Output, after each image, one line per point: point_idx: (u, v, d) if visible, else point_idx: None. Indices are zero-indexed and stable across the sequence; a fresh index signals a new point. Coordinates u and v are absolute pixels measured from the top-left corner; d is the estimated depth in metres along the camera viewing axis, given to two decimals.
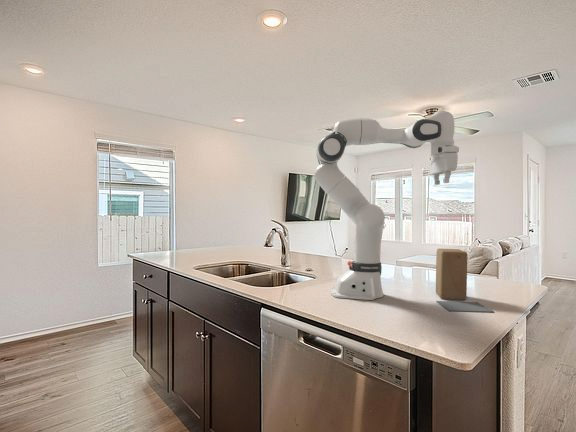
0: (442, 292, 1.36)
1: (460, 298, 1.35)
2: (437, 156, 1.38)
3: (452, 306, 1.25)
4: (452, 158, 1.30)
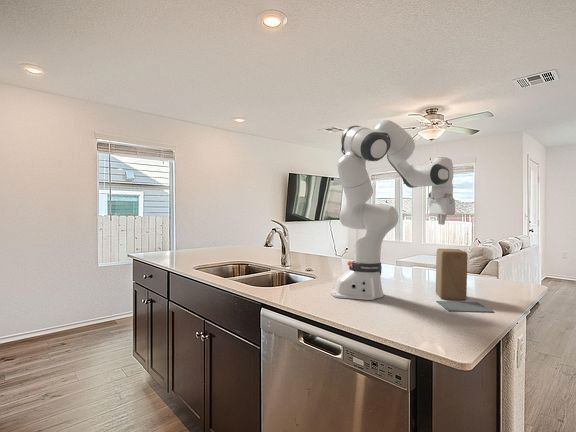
0: (442, 292, 1.36)
1: (460, 298, 1.35)
2: None
3: (452, 306, 1.25)
4: None
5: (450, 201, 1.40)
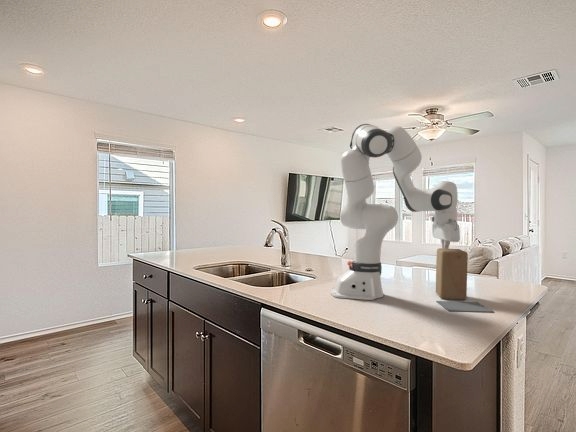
0: (442, 292, 1.36)
1: (460, 298, 1.35)
2: None
3: (452, 306, 1.25)
4: None
5: (454, 228, 1.36)
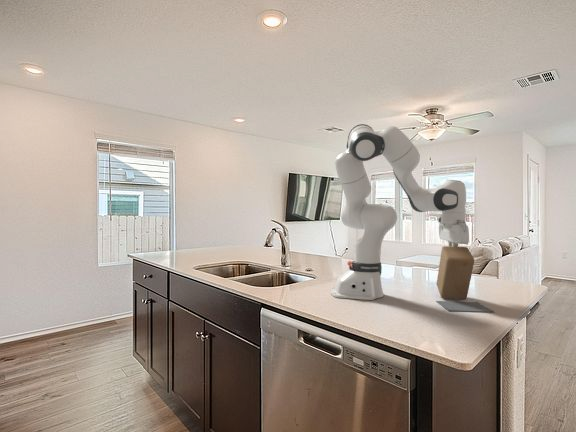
0: (443, 293, 1.35)
1: (460, 298, 1.34)
2: None
3: (452, 306, 1.25)
4: None
5: (463, 229, 1.28)
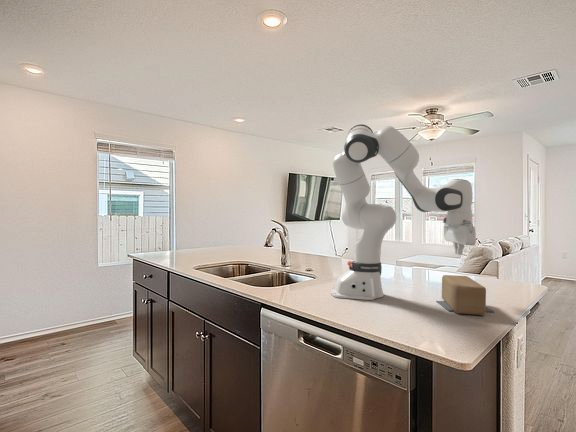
0: (444, 300, 1.33)
1: None
2: None
3: None
4: None
5: (470, 230, 1.23)
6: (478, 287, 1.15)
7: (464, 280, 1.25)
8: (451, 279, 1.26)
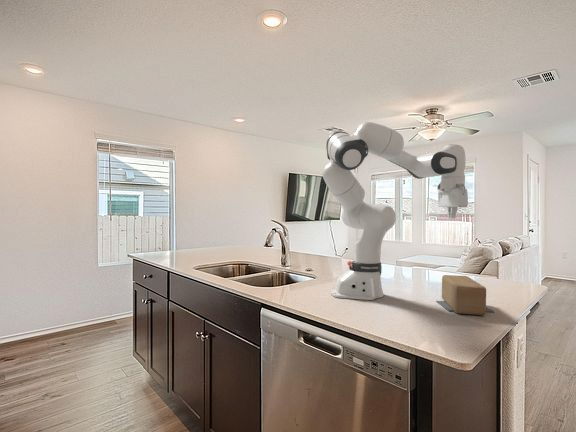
0: (444, 300, 1.33)
1: None
2: None
3: None
4: None
5: (462, 192, 1.27)
6: (478, 287, 1.15)
7: (464, 280, 1.25)
8: (451, 279, 1.26)
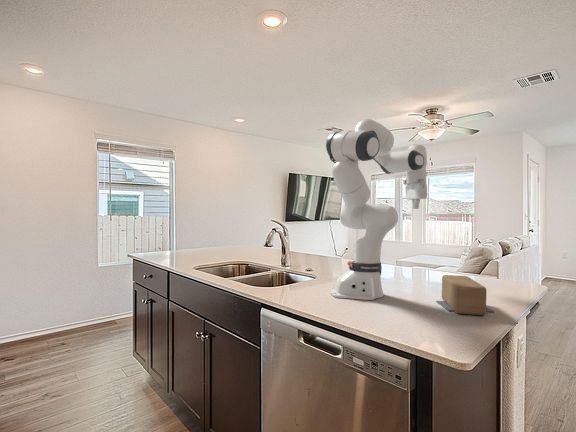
0: (444, 300, 1.33)
1: None
2: None
3: None
4: None
5: (422, 185, 1.48)
6: (479, 287, 1.15)
7: (464, 280, 1.25)
8: (451, 279, 1.26)
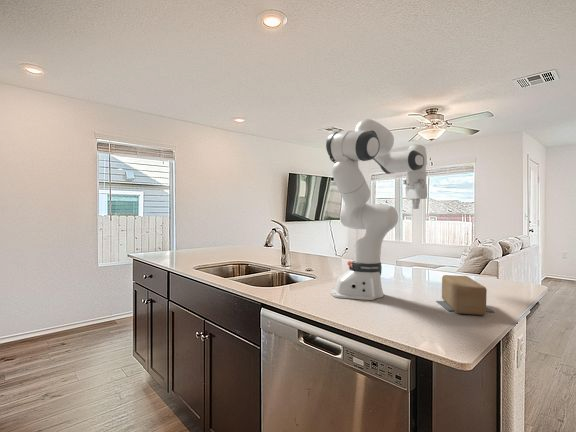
0: (444, 300, 1.33)
1: None
2: None
3: None
4: None
5: (422, 185, 1.48)
6: (479, 287, 1.15)
7: (464, 280, 1.25)
8: (451, 279, 1.26)
